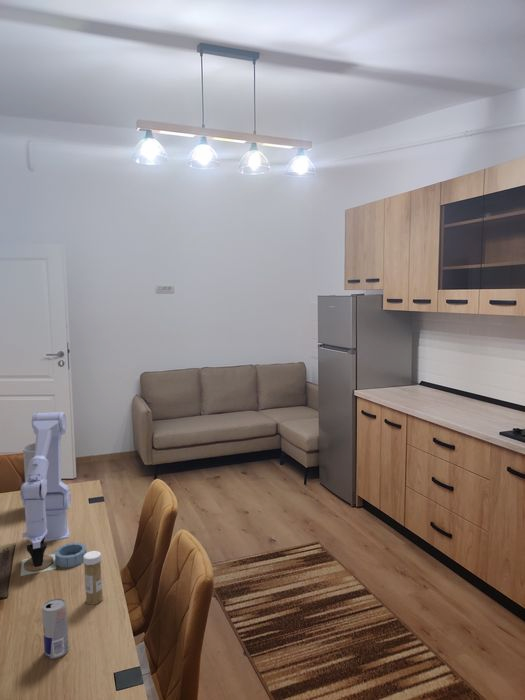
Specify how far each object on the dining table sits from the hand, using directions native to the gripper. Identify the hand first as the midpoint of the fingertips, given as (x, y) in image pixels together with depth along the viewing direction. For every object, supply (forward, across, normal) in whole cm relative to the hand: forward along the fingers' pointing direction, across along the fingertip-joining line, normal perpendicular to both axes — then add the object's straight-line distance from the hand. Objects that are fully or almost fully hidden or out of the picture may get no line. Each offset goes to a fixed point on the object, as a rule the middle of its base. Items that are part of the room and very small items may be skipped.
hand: (38, 559), depth 163 cm
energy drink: (+2, +44, +4) cm, 44 cm away
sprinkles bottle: (+2, +26, +14) cm, 30 cm away
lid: (+1, 0, 0) cm, 1 cm away
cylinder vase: (+2, -45, +2) cm, 45 cm away
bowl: (+2, +1, +10) cm, 10 cm away
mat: (+2, 0, 0) cm, 2 cm away
